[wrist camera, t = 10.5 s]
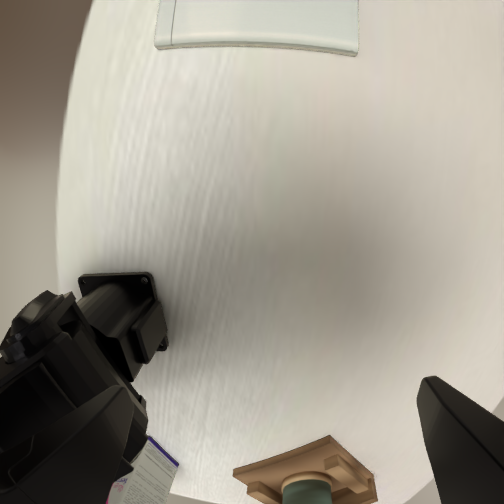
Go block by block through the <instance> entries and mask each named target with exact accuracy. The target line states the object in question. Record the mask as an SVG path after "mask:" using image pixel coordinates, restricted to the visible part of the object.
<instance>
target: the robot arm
mask: <svg viewBox="0 0 504 504" xmlns="http://www.w3.org/2000/svg"><path fill="white" fill-rule="evenodd" d="M143 277H144V278H146V279H147V280H148V282H146V281H144V279H143ZM83 280H84V281H85V282H86V283H84V281H83ZM78 283H79V287H80V290H81V294H82V298H81V299H80V300H79V301H78V302H77V303H76V301H75V300H76V298H75V296H74V295H73V293H72V291H71V292H69V293H67V294H65V295H63V294H61V295H55V294H53V293H51V292H50V291H48V290H47V291H45V292H43V293H41V294H40V295H39V296H37V297H36V298H35V299H33V300H32V301H31V302H30V303H28V304H27V305H26V306H25V307H24V308H23V309H22V310H21V311H20V312H19V313H18V315H17V316H16V317H15V318H14V319H13V321H12V325H11V327H10V328H9V330H8V332H7V334H6V336H5V338H4V339H3V341H2V343H1V345H0V353H1V355H2V357H1V358H0V504H106V502H107V499H108V496H109V493H110V490H111V487H112V484H113V483H114V482H116V481H117V480H118V479H120V478H122V477H123V476H125V475H127V474H129V473H131V472H133V470H134V467H133V466H132V465H131V464H132V463H133V462H134V461H135V460H136V459H137V458H138V456H139V455H140V453H141V451H142V450H143V448H144V447H145V445H146V443H147V440H148V436H147V434H146V429H147V424H148V416H147V412H146V401H145V399H144V398H143V397H142V396H141V395H139V394H138V393H137V392H136V390H135V389H134V388H133V386H132V385H131V384H130V382H133V381H134V379H135V378H136V376H137V374H138V372H139V371H140V369H141V367H142V366H143V364H148V363H149V362H150V361H151V359H152V357H153V355H154V354H155V352H156V351H165V350H166V349H167V348H168V346H169V343H168V339H167V336H166V332H167V327H166V323H165V319H164V315H163V311H162V306H161V302H160V301H159V300H158V299H157V295H156V290H155V286H154V281H153V278H152V275H151V274H150V273H148V272H133V273H110V274H85V275H82V276H80V277H79V278H78ZM160 343H161V344H163V345H164V346H162V345H161V344H160ZM417 407H418V412H419V417H420V422H421V427H422V432H423V437H424V442H425V446H426V450H427V453H428V457H429V460H430V463H431V467H432V470H433V474H434V477H435V481H436V485H437V488H438V492H439V496H440V500H441V504H504V422H503V421H502V420H501V419H499V418H497V417H496V416H495V415H493V414H492V413H490V412H489V411H487V410H486V409H484V408H483V407H481V406H480V405H479V404H477V403H476V402H474V401H473V400H471V399H470V398H468V397H467V396H465V395H464V394H462V393H461V392H459V391H458V390H456V389H455V388H454V387H452V386H451V385H449V384H448V383H446V382H445V381H443V380H442V379H440V378H439V377H437V376H429V377H425V378H423V379H422V381H421V385H420V388H419V392H418V395H417Z"/></svg>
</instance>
